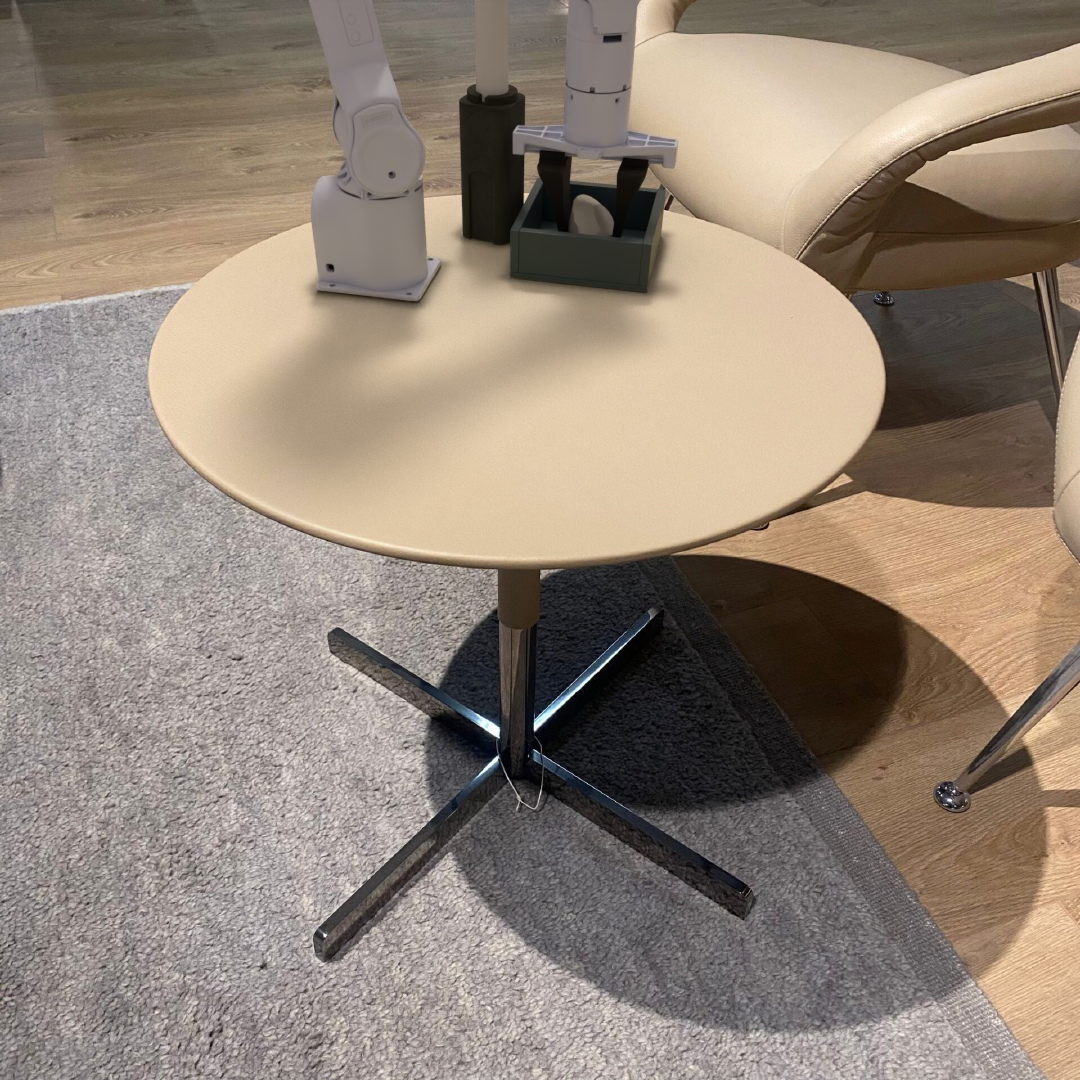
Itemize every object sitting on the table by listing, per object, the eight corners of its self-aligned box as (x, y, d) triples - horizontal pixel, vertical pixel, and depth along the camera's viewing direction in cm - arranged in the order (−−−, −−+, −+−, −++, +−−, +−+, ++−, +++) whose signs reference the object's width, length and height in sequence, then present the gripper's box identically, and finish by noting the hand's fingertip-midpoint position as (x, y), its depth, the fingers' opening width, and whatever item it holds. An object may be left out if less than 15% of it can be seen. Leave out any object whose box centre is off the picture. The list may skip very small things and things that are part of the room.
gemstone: (552, 202, 98) (592, 176, 95) (591, 250, 101) (631, 227, 98) (535, 237, 94) (575, 211, 91) (576, 286, 97) (616, 263, 94)
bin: (509, 278, 93) (510, 230, 90) (536, 222, 103) (537, 177, 100) (647, 293, 92) (651, 244, 89) (661, 235, 101) (665, 189, 98)
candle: (527, 227, 102) (532, -59, 85) (505, 247, 98) (505, -48, 82) (481, 217, 103) (477, -66, 87) (458, 236, 100) (449, -55, 83)
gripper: (505, 90, 85) (505, 245, 94) (679, 105, 83) (662, 261, 92) (522, 66, 90) (521, 214, 99) (686, 79, 88) (670, 229, 97)
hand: (589, 235), depth 96 cm, fingers closed on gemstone, 4 cm apart
